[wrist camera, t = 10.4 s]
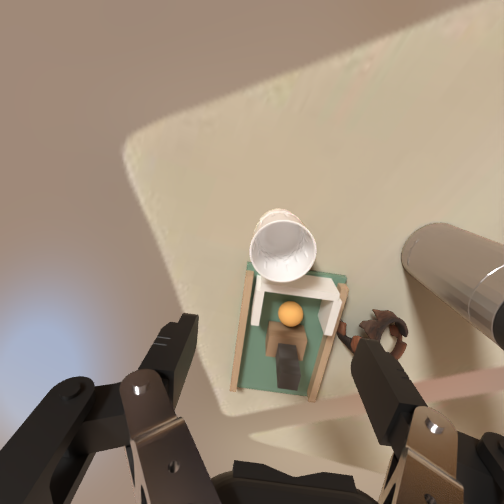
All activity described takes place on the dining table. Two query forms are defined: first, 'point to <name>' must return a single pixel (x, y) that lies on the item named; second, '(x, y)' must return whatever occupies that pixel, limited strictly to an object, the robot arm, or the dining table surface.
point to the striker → (286, 352)
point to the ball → (290, 313)
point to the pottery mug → (377, 331)
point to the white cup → (282, 247)
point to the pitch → (266, 309)
